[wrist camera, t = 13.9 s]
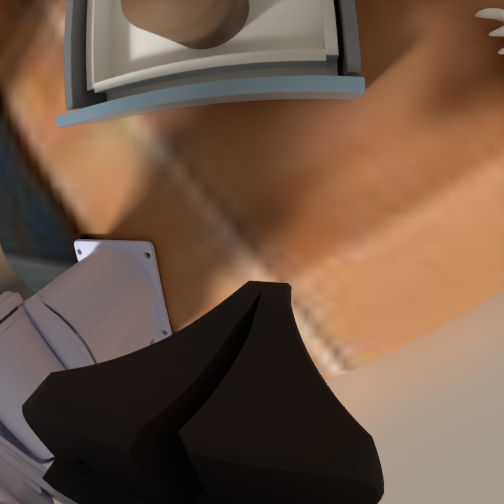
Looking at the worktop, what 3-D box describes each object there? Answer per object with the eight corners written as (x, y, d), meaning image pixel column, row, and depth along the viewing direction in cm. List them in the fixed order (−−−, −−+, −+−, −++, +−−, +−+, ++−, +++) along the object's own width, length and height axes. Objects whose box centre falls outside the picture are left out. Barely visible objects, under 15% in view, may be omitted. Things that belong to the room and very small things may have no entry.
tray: (353, 100, 15) (365, 93, 11) (106, 121, 19) (57, 128, 14) (336, -57, 11) (337, -99, 7) (105, -13, 14) (60, -29, 10)
